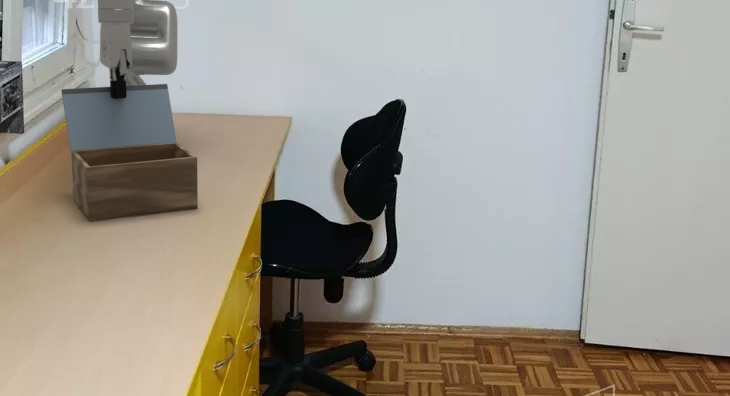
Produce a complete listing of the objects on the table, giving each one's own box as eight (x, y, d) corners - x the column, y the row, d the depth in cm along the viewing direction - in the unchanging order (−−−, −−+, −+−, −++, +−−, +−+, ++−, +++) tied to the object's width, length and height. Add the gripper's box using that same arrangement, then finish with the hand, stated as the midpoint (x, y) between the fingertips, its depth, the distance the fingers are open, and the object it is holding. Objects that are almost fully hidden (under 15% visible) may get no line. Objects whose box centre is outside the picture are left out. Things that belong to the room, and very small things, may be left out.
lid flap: (71, 150, 195) (70, 151, 196) (176, 141, 207) (175, 142, 208) (61, 89, 196) (61, 90, 197) (167, 83, 208) (166, 84, 209)
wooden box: (74, 202, 199) (71, 151, 195) (177, 190, 211) (176, 142, 207) (89, 221, 188) (86, 167, 184) (197, 208, 199) (197, 157, 196)
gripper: (90, 12, 200) (93, 92, 206) (107, 20, 188) (110, 105, 193) (123, 12, 204) (125, 91, 209) (142, 19, 192) (144, 103, 197)
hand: (118, 97), depth 201 cm, fingers closed
